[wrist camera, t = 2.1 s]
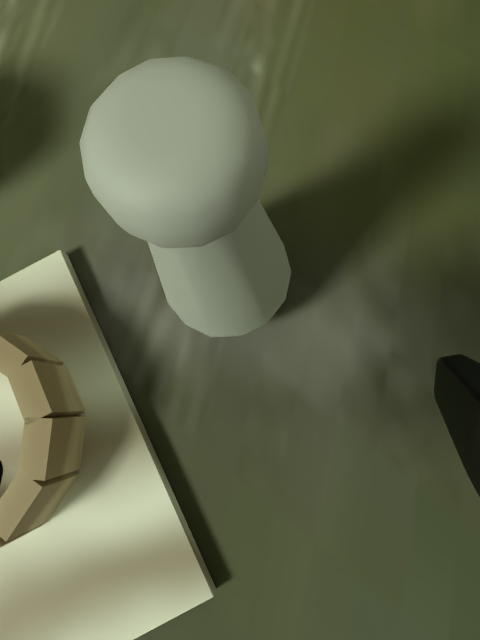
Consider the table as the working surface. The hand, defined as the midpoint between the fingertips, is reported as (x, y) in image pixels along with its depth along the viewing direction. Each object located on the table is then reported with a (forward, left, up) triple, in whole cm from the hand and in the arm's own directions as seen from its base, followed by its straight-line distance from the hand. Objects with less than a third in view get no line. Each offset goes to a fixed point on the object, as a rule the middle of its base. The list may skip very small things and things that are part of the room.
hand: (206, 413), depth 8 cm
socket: (+3, +12, -12) cm, 17 cm away
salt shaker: (+6, -2, -12) cm, 14 cm away
